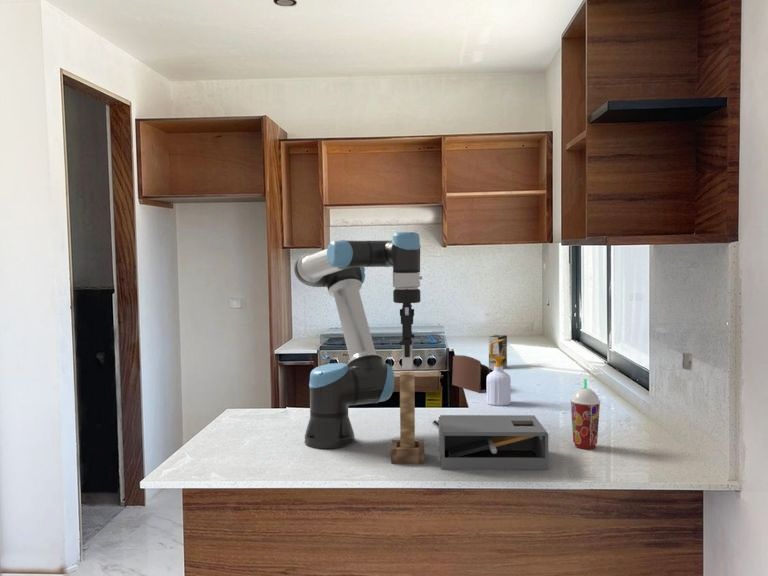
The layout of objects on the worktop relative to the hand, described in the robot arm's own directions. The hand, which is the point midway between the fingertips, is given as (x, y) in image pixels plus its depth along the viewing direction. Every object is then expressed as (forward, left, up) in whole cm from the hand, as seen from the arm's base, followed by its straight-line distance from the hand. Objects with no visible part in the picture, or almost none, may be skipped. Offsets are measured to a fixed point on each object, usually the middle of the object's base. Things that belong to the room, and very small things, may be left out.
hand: (407, 365), depth 180 cm
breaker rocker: (+23, 0, -22) cm, 32 cm away
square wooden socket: (0, 0, -26) cm, 26 cm away
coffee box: (+44, +147, -27) cm, 156 cm away
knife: (+12, +29, -27) cm, 41 cm away
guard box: (+23, 0, -26) cm, 35 cm away
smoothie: (+52, +12, -27) cm, 60 cm away
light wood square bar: (0, 0, -26) cm, 26 cm away
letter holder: (+28, +98, -27) cm, 105 cm away
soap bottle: (+34, +68, -27) cm, 81 cm away
